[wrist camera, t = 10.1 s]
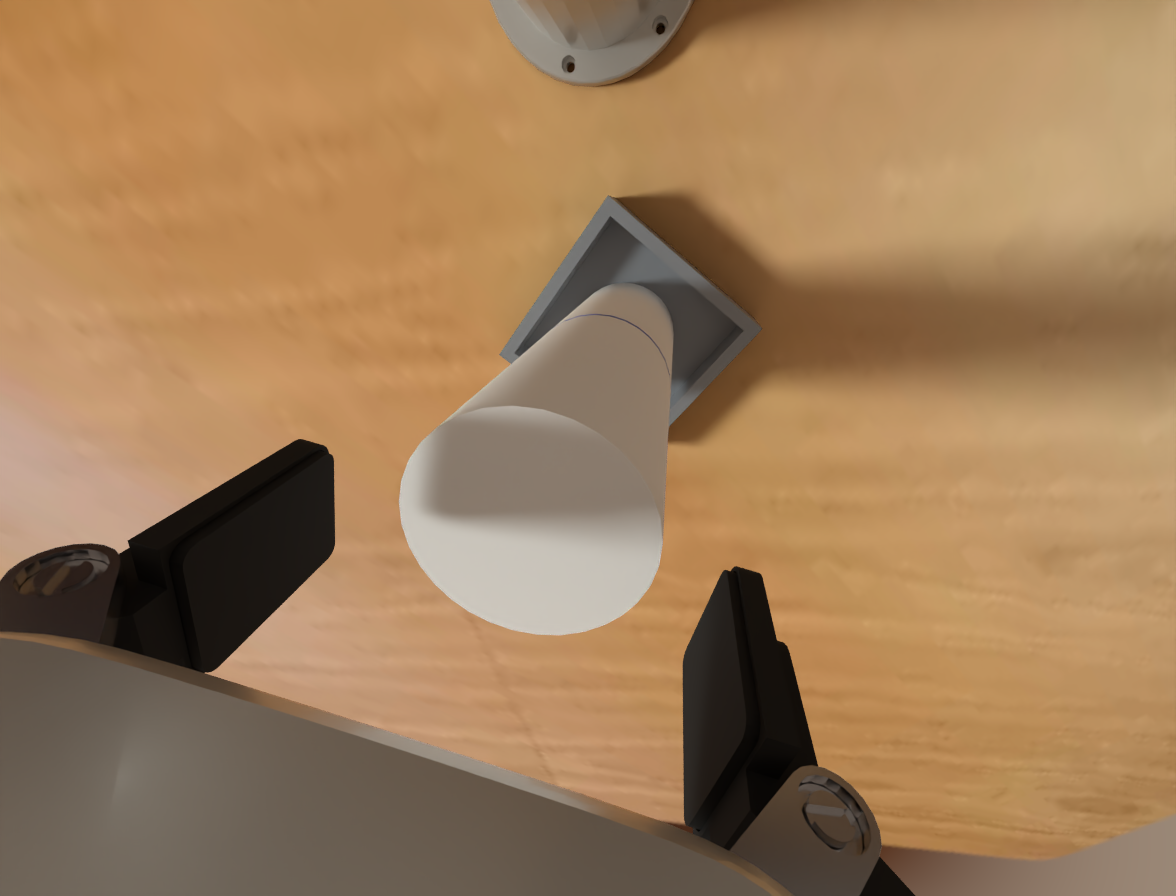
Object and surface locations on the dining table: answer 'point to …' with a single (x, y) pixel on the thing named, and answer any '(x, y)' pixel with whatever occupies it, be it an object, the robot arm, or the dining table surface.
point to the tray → (640, 256)
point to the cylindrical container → (553, 474)
